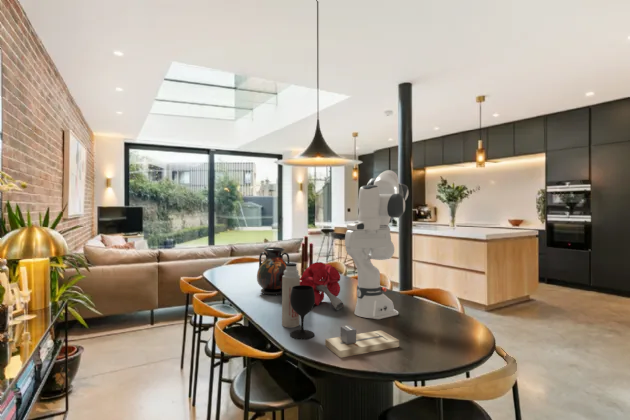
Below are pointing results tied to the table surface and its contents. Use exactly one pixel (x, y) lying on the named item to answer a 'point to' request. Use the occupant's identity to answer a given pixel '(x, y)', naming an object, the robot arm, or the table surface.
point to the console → (362, 344)
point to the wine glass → (302, 308)
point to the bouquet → (323, 282)
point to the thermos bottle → (288, 283)
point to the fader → (348, 334)
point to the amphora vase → (272, 271)
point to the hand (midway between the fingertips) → (368, 259)
